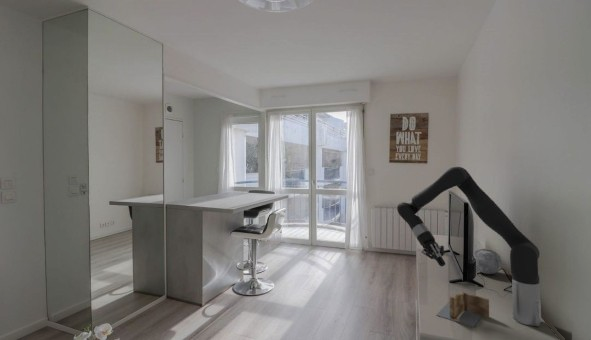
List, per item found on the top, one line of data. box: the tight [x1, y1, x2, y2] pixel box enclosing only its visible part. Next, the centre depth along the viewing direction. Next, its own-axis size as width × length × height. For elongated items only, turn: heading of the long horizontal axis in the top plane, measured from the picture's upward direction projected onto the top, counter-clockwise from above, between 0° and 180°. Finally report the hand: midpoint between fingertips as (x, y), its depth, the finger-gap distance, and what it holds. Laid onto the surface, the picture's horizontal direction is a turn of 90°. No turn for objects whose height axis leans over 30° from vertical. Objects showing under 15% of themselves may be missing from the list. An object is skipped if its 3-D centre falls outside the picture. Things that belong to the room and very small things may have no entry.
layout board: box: [436, 301, 483, 328], centre depth 135 cm, size 15×17×1 cm
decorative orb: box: [473, 248, 502, 275], centre depth 181 cm, size 15×14×15 cm
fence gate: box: [448, 291, 465, 318], centre depth 134 cm, size 11×2×9 cm, turn 126°
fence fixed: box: [461, 291, 490, 319], centre depth 135 cm, size 11×2×8 cm, turn 46°
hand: (443, 265), depth 142 cm, fingers closed
